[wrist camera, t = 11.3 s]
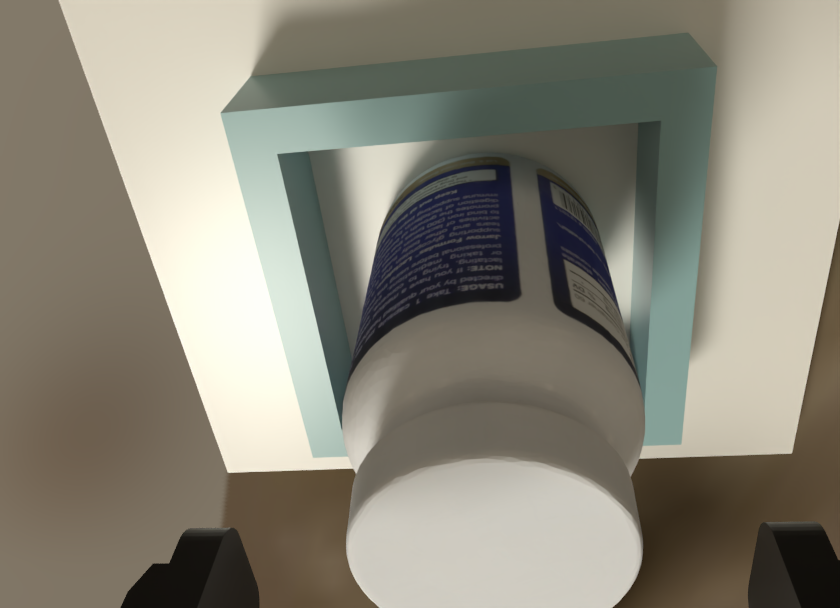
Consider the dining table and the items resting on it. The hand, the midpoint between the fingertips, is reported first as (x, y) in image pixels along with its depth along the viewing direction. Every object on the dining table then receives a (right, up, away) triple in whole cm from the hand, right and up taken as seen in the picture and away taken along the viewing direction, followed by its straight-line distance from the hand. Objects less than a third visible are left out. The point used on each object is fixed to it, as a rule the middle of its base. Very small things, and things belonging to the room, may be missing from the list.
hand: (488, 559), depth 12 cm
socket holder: (+1, +6, +9) cm, 11 cm away
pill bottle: (+1, +6, +8) cm, 10 cm away
